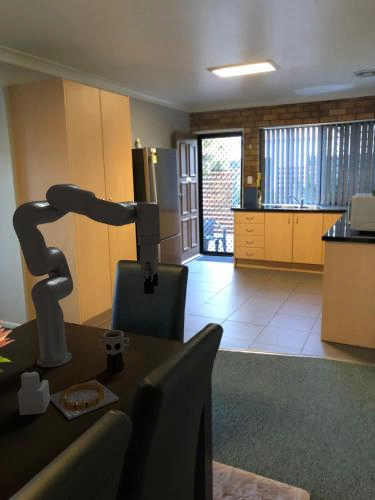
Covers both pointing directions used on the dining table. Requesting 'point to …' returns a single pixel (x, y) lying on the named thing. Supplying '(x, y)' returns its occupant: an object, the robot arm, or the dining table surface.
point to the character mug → (114, 348)
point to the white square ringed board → (82, 398)
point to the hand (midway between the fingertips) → (151, 289)
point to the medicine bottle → (33, 392)
